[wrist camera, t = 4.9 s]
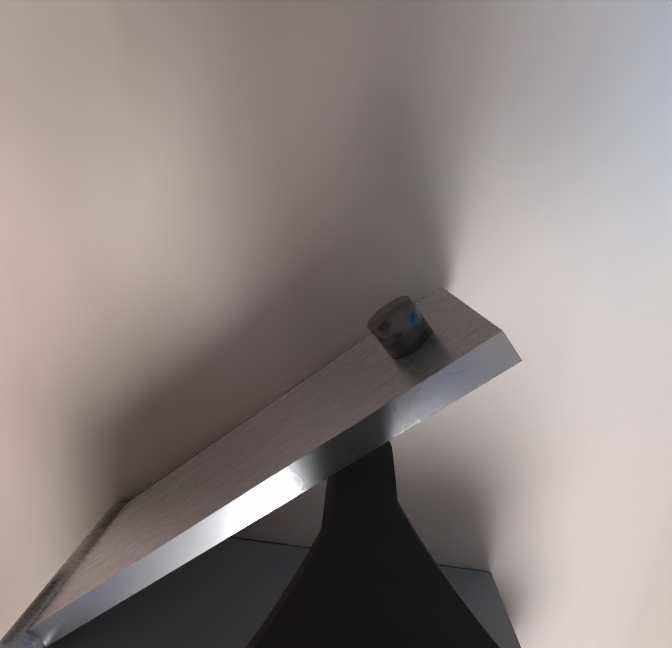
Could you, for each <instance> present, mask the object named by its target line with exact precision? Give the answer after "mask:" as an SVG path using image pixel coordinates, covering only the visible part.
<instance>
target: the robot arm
mask: <svg viewBox="0 0 672 648" xmlns="http://www.w3.org/2000/svg"><path fill="white" fill-rule="evenodd" d="M246 648H500V647H499V646H498V645H497V643H496V642H495V641H494V640H493V638H492V637H491V636H490V635H489V634H488V632H487V631H486V630H485V629H484V627H483V626H482V625H481V624H480V622H479V621H478V620H477V618H476V617H475V616H474V614H473V613H472V612H471V610H470V609H469V608H468V606H467V605H466V604H465V602H464V601H463V600H462V598H461V597H460V596H459V594H458V593H457V592H456V590H455V589H454V588H453V586H452V585H451V583H450V582H449V580H448V579H447V578H446V576H445V575H444V573H443V572H442V570H441V569H440V568H439V566H438V565H437V563H436V562H435V560H434V559H433V557H432V556H431V554H430V553H429V551H428V550H427V548H426V547H425V545H424V544H423V542H422V541H421V539H420V538H419V536H418V534H417V533H416V531H415V529H414V528H413V526H412V525H411V523H410V521H409V520H408V518H407V516H406V515H405V513H404V511H403V509H402V508H401V506H400V504H399V502H398V501H397V492H396V481H395V471H394V462H393V452H392V446H391V443H390V440H389V441H388V442H386V443H384V444H383V445H381V446H379V447H378V448H376V449H374V450H373V451H371V452H369V453H368V454H366V455H364V456H363V457H361V458H360V459H358V460H356V461H355V462H353V463H351V464H350V465H348V466H346V467H345V468H343V469H341V470H340V471H338V472H336V473H335V474H333V475H331V476H330V477H328V479H327V486H326V494H325V502H324V511H323V520H322V528H321V530H320V532H319V534H318V536H317V538H316V539H315V541H314V543H313V545H312V546H311V548H310V550H309V552H308V553H307V555H306V557H305V559H304V560H303V562H302V564H301V565H300V567H299V569H298V570H297V572H296V573H295V575H294V577H293V578H292V580H291V581H290V583H289V585H288V586H287V588H286V589H285V591H284V592H283V594H282V596H281V597H280V599H279V600H278V602H277V603H276V605H275V606H274V608H273V609H272V611H271V612H270V614H269V615H268V617H267V618H266V620H265V621H264V623H263V624H262V626H261V627H260V628H259V630H258V631H257V633H256V634H255V635H254V637H253V638H252V640H251V641H250V642H249V644H248V645H247V647H246Z"/></svg>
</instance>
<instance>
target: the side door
mask: <svg viewBox="0 0 672 648" xmlns="http://www.w3.org/2000/svg"><path fill="white" fill-rule="evenodd" d="M367 326H368V328H369V329H370V330H371V332H372V334H371V335H370V336H368V337H367V338H365V339H364V340H362V341H361V342H359V343H358V344H357V345H355V346H354V347H352V348H351V349H349V350H348V351H346V352H345V353H344V354H342V355H341V356H339V357H338V358H336V359H335V360H333V361H332V362H330V363H329V364H328V365H326V366H325V367H323V368H322V369H320V370H319V371H317V372H316V373H315V374H313V375H312V376H310V377H309V378H307V379H306V380H304V381H303V382H302V383H300V384H299V385H297V386H296V387H294V388H293V389H291V390H290V391H289V392H287V393H286V394H284V395H283V396H281V397H280V398H278V399H277V400H276V401H274V402H273V403H271V404H270V405H268V406H267V407H265V408H264V409H263V410H261V411H260V412H258V413H257V414H255V415H254V416H252V417H251V418H249V419H248V420H247V421H245V422H244V423H242V424H241V425H239V426H238V427H236V428H235V429H234V430H232V431H231V432H229V433H228V434H226V435H225V436H223V437H222V438H221V439H219V440H218V441H216V442H215V443H213V444H212V445H210V446H209V447H208V448H206V449H205V450H203V451H202V452H200V453H199V454H197V455H196V456H195V457H193V458H192V459H190V460H189V461H187V462H186V463H184V464H183V465H182V466H180V467H179V468H177V469H176V470H174V471H173V472H171V473H170V474H168V475H167V476H166V477H164V478H163V479H161V480H160V481H158V482H157V483H155V484H154V485H153V486H151V487H150V488H148V489H147V490H145V491H144V492H142V493H141V494H140V495H138V496H137V497H135V498H134V499H132V500H131V501H129V502H117V503H115V504H113V505H112V507H111V508H110V509H109V510H108V511H107V513H106V514H105V515H104V516H103V517H102V519H101V520H100V521H99V522H98V523H97V525H96V526H95V527H94V528H93V530H92V531H91V532H90V533H89V534H88V536H87V537H86V538H85V539H84V540H83V542H82V543H81V544H80V545H79V546H78V548H77V549H76V550H75V551H74V553H73V554H72V555H71V556H70V557H69V559H68V560H67V561H66V562H65V563H64V565H63V566H62V567H61V568H60V569H59V571H58V572H57V573H56V574H55V575H54V577H53V578H52V579H51V580H50V582H49V583H48V584H47V585H46V586H45V588H44V589H43V590H42V591H41V592H40V594H39V595H38V596H37V597H36V598H35V600H34V601H33V602H32V603H31V605H30V606H29V607H28V608H27V609H26V611H25V612H24V613H23V614H22V615H21V617H20V618H19V619H18V620H17V621H16V623H15V624H14V625H13V626H12V628H11V629H10V630H9V631H8V632H7V634H6V635H5V636H4V637H3V638H2V640H1V641H0V648H51V647H52V645H53V644H54V642H55V641H57V640H59V639H60V638H62V637H64V636H65V635H67V634H69V633H70V632H72V631H74V630H75V629H77V628H79V627H80V626H82V625H84V624H85V623H87V622H89V621H90V620H92V619H94V618H95V617H97V616H99V615H100V614H102V613H104V612H105V611H107V610H109V609H110V608H112V607H114V606H115V605H117V604H119V603H120V602H122V601H123V600H125V599H127V598H128V597H130V596H132V595H133V594H135V593H137V592H138V591H140V590H142V589H143V588H145V587H147V586H148V585H150V584H152V583H153V582H155V581H157V580H158V579H160V578H162V577H163V576H165V575H167V574H168V573H170V572H172V571H173V570H175V569H177V568H178V567H180V566H182V565H183V564H185V563H187V562H188V561H190V560H192V559H193V558H195V557H197V556H198V555H200V554H202V553H203V552H205V551H207V550H208V549H210V548H212V547H213V546H215V545H217V544H218V543H220V542H222V541H223V540H225V539H227V538H228V537H230V536H232V535H233V534H235V533H237V532H238V531H240V530H241V529H243V528H245V527H246V526H248V525H250V524H251V523H253V522H255V521H256V520H258V519H260V518H261V517H263V516H265V515H266V514H268V513H270V512H271V511H273V510H275V509H276V508H278V507H280V506H281V505H283V504H285V503H286V502H288V501H290V500H291V499H293V498H295V497H296V496H298V495H300V494H301V493H303V492H305V491H306V490H308V489H310V488H311V487H313V486H315V485H316V484H318V483H320V482H321V481H323V480H325V479H326V478H328V477H330V476H331V475H333V474H335V473H336V472H338V471H340V470H341V469H343V468H345V467H346V466H348V465H350V464H351V463H353V462H355V461H356V460H358V459H360V458H361V457H363V456H364V455H366V454H368V453H369V452H371V451H373V450H374V449H376V448H378V447H379V446H381V445H383V444H384V443H386V442H388V441H389V440H391V439H393V438H394V437H396V436H398V435H399V434H401V433H403V432H404V431H406V430H408V429H409V428H411V427H413V426H414V425H416V424H418V423H419V422H421V421H423V420H424V419H426V418H428V417H429V416H431V415H433V414H434V413H436V412H438V411H439V410H441V409H443V408H444V407H446V406H448V405H449V404H451V403H453V402H454V401H456V400H458V399H459V398H461V397H463V396H464V395H466V394H468V393H469V392H471V391H473V390H474V389H476V388H478V387H479V386H481V385H482V384H484V383H486V382H487V381H489V380H491V379H492V378H494V377H496V376H497V375H499V374H501V373H502V372H504V371H506V370H507V369H509V368H511V367H512V366H514V365H516V364H517V363H519V362H521V361H522V359H521V358H520V356H519V355H518V353H517V352H516V350H515V349H514V347H513V346H512V344H511V343H510V341H509V340H508V338H507V337H506V335H505V334H504V332H503V331H502V330H501V329H500V328H498V327H497V326H495V325H494V324H493V323H491V322H490V321H488V320H487V319H486V318H484V317H483V316H481V315H480V314H479V313H477V312H476V311H475V310H473V309H472V308H470V307H469V306H468V305H466V304H465V303H463V302H462V301H461V300H459V299H458V298H457V297H455V296H454V295H452V294H451V293H450V292H448V291H447V290H445V289H444V288H443V287H441V286H440V287H439V288H438V289H436V290H435V291H433V292H432V293H430V294H429V295H427V296H426V297H425V298H423V299H422V300H420V301H419V302H417V303H416V304H414V303H413V301H412V300H411V299H410V297H409V296H402V297H399V298H397V299H395V300H393V301H391V302H390V303H388V304H387V305H385V306H384V307H382V308H381V309H380V310H379V311H378V312H376V313H375V314H374V315H373V317H372V318H371V319H370V320H369V322H368V324H367Z"/></svg>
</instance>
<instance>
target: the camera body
mask: <svg viewBox="0 0 672 648" xmlns="http://www.w3.org/2000/svg"><path fill="white" fill-rule="evenodd" d="M309 550H310V548H303V547H295V546H288V545H280V544H273V543H265V542H258V541H250V540H243V539H235V538H227V539H225V540H223V541H222V542H220V543H218V544H217V545H215V546H213V547H212V548H210V549H208V550H207V551H205V552H203V553H202V554H200V555H198V556H197V557H195V558H193V559H192V560H190V561H188V562H187V563H185V564H183V565H182V566H180V567H178V568H177V569H175V570H173V571H172V572H170V573H168V574H167V575H165V576H163V577H162V578H160V579H158V580H157V581H155V582H153V583H152V584H150V585H148V586H147V587H145V588H143V589H142V590H140V591H138V592H137V593H135V594H133V595H132V596H130V597H128V598H127V599H125V600H123V601H122V602H120V603H119V604H117V605H115V606H114V607H112V608H110V609H109V610H107V611H105V612H104V613H102V614H100V615H99V616H97V617H95V618H94V619H92V620H90V621H89V622H87V623H85V624H84V625H82V626H80V627H79V628H77V629H75V630H74V631H72V632H70V633H69V634H67V635H65V636H64V637H62V638H60V639H59V640H57V641H55V642H54V644H53V645H52V647H51V648H246V647H247V645H248V644H249V642H250V641H251V640H252V638H253V637H254V635H255V634H256V633H257V631H258V630H259V628H260V627H261V626H262V624H263V623H264V621H265V620H266V618H267V617H268V615H269V614H270V612H271V611H272V609H273V608H274V606H275V605H276V603H277V602H278V600H279V599H280V597H281V596H282V594H283V592H284V591H285V589H286V588H287V586H288V585H289V583H290V581H291V580H292V578H293V577H294V575H295V573H296V572H297V570H298V569H299V567H300V565H301V564H302V562H303V560H304V559H305V557H306V555H307V553H308V552H309ZM439 568H440V569H441V570H442V572H443V573H444V575H445V576H446V578H447V579H448V580H449V582H450V583H451V585H452V586H453V588H454V589H455V590H456V592H457V593H458V594H459V596H460V597H461V598H462V600H463V601H464V602H465V604H466V605H467V606H468V608H469V609H470V610H471V612H472V613H473V614H474V616H475V617H476V618H477V620H478V621H479V622H480V624H481V625H482V626H483V627H484V629H485V630H486V631H487V632H488V634H489V635H490V636H491V637H492V638H493V640H494V641H495V642H496V643H497V645H498V646H499V647H500V648H521V647H520V644H519V642H518V639H517V637H516V634H515V632H514V629H513V627H512V624H511V622H510V619H509V617H508V614H507V612H506V609H505V607H504V604H503V602H502V599H501V597H500V595H499V592H498V590H497V587H496V585H495V582H494V580H493V577H492V575H491V572H483V571H476V570H468V569H461V568H453V567H446V566H439Z"/></svg>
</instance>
